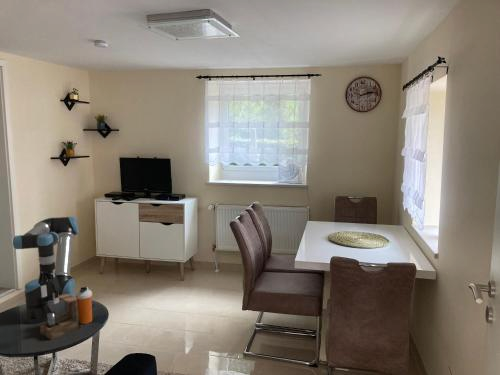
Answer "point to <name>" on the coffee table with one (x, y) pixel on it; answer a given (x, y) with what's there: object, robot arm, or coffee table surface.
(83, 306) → the shaker bottle
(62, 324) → the socket block
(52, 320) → the peg
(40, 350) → the coffee table surface
